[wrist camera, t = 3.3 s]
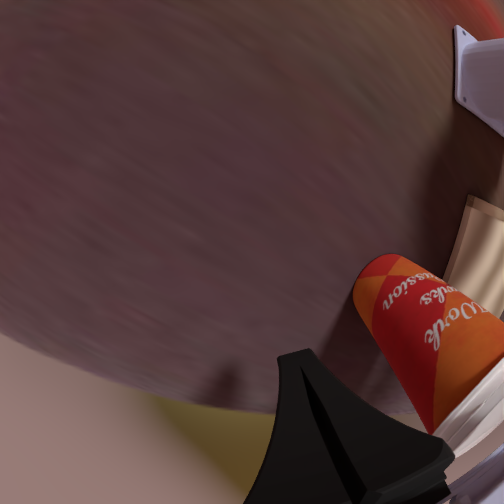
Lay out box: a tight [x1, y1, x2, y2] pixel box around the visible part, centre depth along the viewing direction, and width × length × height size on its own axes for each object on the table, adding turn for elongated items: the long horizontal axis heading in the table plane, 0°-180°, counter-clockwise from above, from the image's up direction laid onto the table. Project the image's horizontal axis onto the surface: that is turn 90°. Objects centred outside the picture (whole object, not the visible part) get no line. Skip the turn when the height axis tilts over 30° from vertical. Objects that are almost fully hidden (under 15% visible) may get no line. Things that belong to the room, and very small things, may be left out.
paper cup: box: [353, 254, 504, 458], centre depth 14 cm, size 8×8×14 cm
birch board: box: [442, 194, 504, 319], centre depth 22 cm, size 16×18×1 cm
